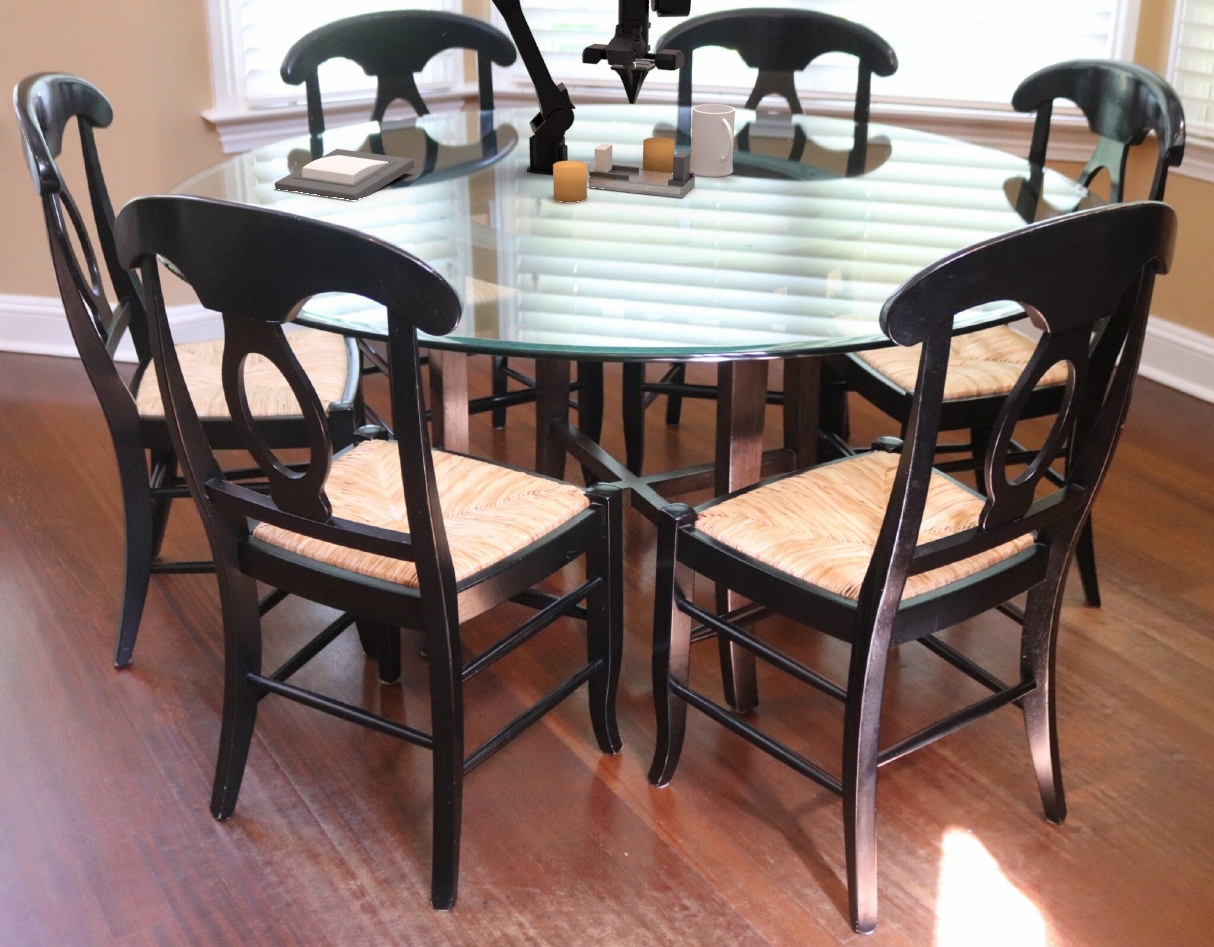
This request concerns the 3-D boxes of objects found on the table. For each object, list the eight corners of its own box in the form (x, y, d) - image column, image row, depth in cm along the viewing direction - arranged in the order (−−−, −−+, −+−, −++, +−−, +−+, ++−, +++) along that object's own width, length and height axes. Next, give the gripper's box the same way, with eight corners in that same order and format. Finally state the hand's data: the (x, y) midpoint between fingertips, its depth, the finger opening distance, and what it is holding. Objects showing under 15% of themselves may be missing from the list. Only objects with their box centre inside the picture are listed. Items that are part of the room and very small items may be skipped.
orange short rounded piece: (638, 174, 239) (639, 143, 236) (648, 167, 244) (649, 136, 241) (668, 178, 237) (669, 146, 234) (677, 170, 242) (678, 139, 239)
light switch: (271, 173, 227) (335, 139, 242) (276, 198, 230) (339, 163, 245) (352, 185, 221) (412, 149, 236) (356, 211, 223) (415, 174, 238)
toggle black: (672, 181, 227) (673, 156, 224) (679, 175, 230) (679, 151, 228) (683, 182, 226) (683, 157, 224) (689, 176, 229) (690, 152, 227)
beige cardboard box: (594, 173, 231) (594, 149, 229) (602, 167, 234) (602, 143, 232) (604, 174, 230) (604, 150, 228) (612, 168, 234) (612, 144, 232)
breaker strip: (587, 188, 231) (587, 173, 229) (602, 176, 237) (602, 162, 236) (681, 198, 225) (682, 183, 224) (694, 186, 232) (695, 171, 231)
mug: (747, 179, 236) (751, 115, 230) (705, 183, 234) (708, 119, 228) (722, 164, 246) (725, 102, 240) (682, 167, 243) (684, 105, 238)
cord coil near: (548, 200, 224) (548, 167, 221) (561, 192, 229) (560, 159, 226) (579, 204, 222) (579, 171, 219) (591, 195, 227) (591, 162, 224)
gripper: (570, 21, 227) (570, 108, 235) (666, 28, 221) (664, 117, 229) (593, 12, 236) (593, 96, 244) (686, 18, 230) (683, 104, 238)
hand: (632, 103), depth 238 cm, fingers closed
